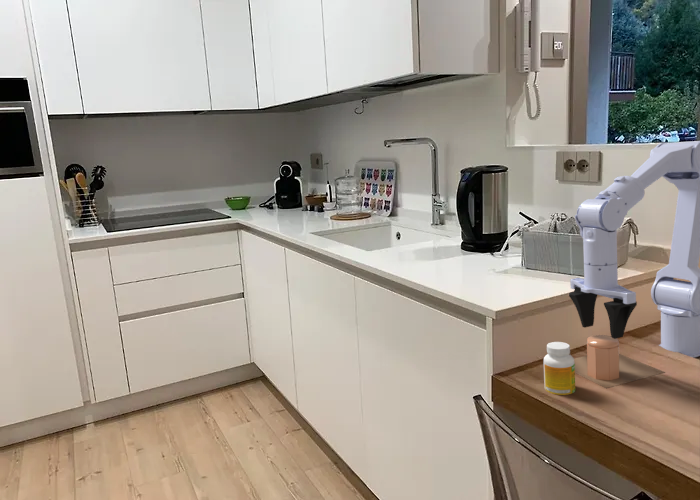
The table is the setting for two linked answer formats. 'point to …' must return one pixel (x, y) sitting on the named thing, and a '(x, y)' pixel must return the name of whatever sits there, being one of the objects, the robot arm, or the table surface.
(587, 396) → the table surface
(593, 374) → the faceted octagonal canister
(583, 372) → the walnut board
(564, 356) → the supplement bottle
